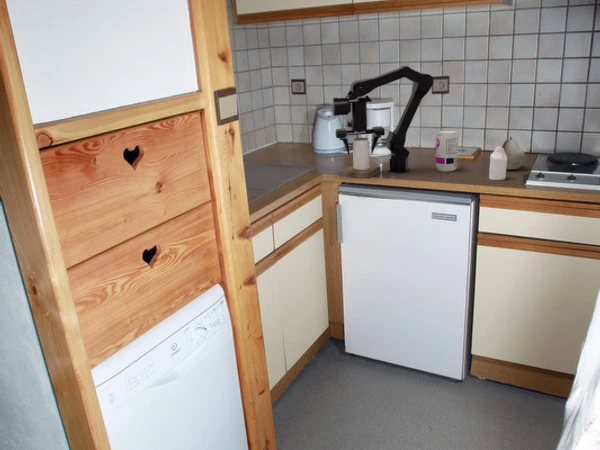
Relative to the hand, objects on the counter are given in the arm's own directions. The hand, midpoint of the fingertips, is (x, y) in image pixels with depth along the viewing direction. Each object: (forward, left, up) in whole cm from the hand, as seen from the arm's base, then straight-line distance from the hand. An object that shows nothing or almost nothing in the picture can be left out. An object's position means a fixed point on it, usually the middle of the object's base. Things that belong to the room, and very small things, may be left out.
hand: (360, 153), depth 216 cm
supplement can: (-30, -16, -8) cm, 35 cm away
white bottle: (-51, -8, -8) cm, 52 cm away
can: (0, 0, -6) cm, 6 cm away
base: (0, 0, -8) cm, 8 cm away
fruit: (-53, -24, -8) cm, 59 cm away
